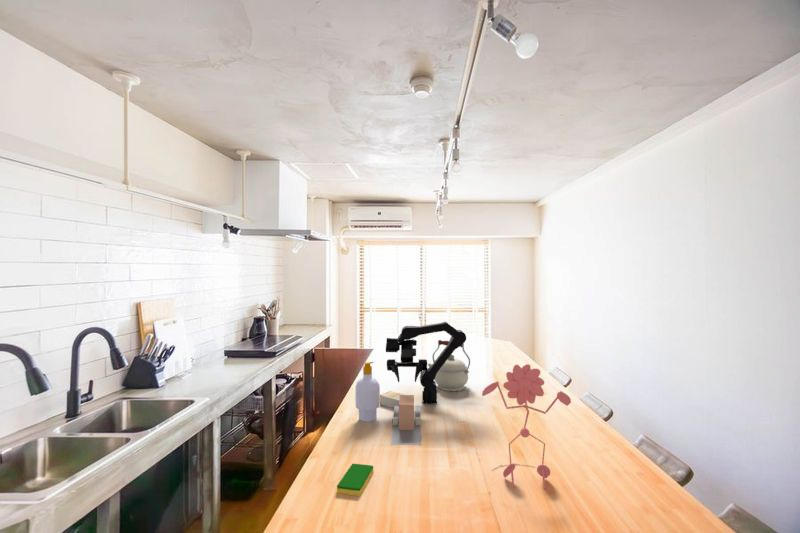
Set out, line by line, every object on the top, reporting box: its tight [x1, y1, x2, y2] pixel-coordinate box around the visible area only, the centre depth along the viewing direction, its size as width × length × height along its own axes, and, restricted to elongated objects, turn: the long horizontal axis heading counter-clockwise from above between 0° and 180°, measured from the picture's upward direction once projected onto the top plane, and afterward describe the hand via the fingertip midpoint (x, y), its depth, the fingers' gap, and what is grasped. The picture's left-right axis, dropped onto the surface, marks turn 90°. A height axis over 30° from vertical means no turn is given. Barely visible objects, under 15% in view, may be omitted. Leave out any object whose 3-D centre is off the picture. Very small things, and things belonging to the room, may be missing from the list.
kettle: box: [427, 339, 471, 392], centre depth 216 cm, size 25×18×25 cm
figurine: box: [481, 364, 572, 490], centre depth 124 cm, size 15×26×35 cm, turn 84°
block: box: [399, 394, 415, 430], centre depth 164 cm, size 6×12×10 cm, turn 178°
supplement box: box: [380, 390, 405, 409], centre depth 187 cm, size 8×5×13 cm
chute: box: [390, 405, 423, 446], centre depth 162 cm, size 11×34×3 cm, turn 178°
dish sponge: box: [336, 463, 374, 497], centre depth 121 cm, size 7×14×2 cm, turn 167°
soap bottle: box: [355, 361, 381, 422], centre depth 171 cm, size 10×10×24 cm
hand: (407, 381), depth 180 cm, fingers open, 7 cm apart
